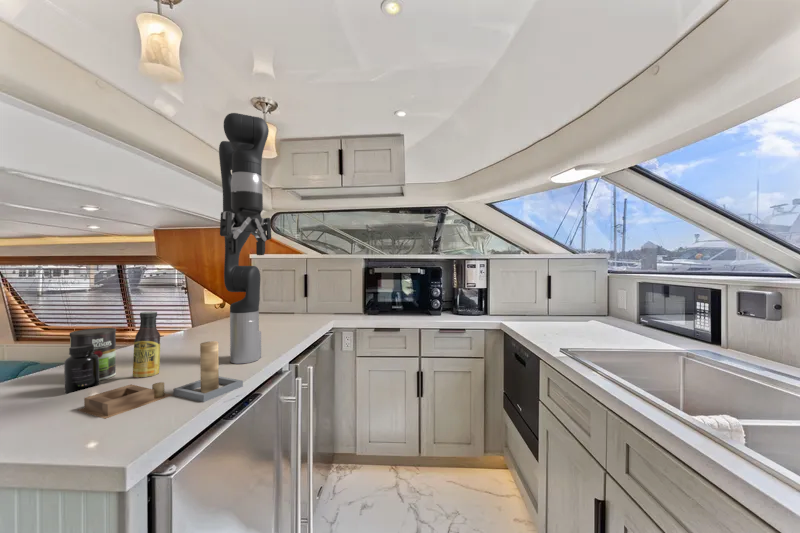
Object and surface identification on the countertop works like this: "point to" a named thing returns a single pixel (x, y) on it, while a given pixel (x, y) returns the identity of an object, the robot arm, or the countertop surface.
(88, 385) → the supplement bottle
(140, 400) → the wooden slotted base
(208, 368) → the dowel
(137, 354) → the sauce bottle
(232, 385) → the tray
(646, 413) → the countertop surface
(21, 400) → the countertop surface
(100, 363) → the coffee can
